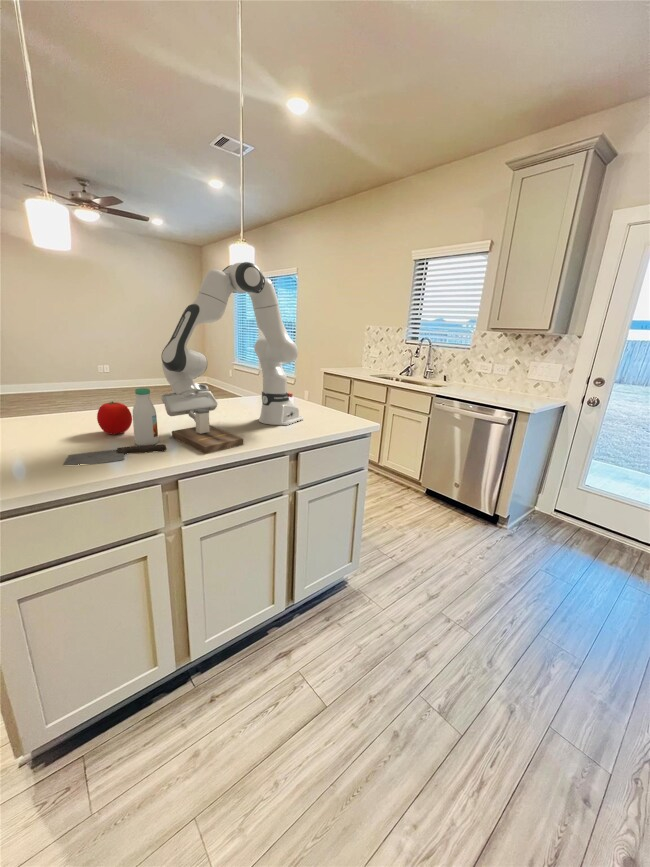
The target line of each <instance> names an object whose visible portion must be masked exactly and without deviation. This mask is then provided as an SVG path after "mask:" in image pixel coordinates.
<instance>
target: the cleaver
mask: <svg viewBox="0 0 650 867" xmlns="http://www.w3.org/2000/svg"><path fill="white" fill-rule="evenodd" d="M166 450H167V445H166V444H161V443H160V444H154V445H142V446H140V445H133V446H131V445H129V446H121V447H117V448H116V449H108V450H100V451H99V450H97V451H90V452H89V451H88V452H80V453H74V454H68V456H67V458H65V461H63V464H62V466H63V465H78V464H79V465H80V464H90V465H97V464H105V463H111V462H116V461H123V460H125V454H126V455H128V454H144V453H145V452H147V453H153V451H158V452H165V451H166ZM127 453H128V454H127ZM145 454H146V453H145ZM96 463H97V464H96ZM80 466H81V465H80Z"/></svg>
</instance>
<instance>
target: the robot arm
mask: <svg viewBox="0 0 650 867" xmlns="http://www.w3.org/2000/svg"><path fill="white" fill-rule="evenodd" d="M233 293H234V294H246V293H247V294H248V295H249V297H250V300H251V302H252V308H253V312H254V316H255V322H256V325H257V327H258V329H259V330H260V331H261V333H262V335H263V336H264V337H260V338H258V339H257V340H256V342H255V344H254V354H256V356H257V358H258V360H259V364H260V368H261V372H262V391H261V402H262V404H261V409H260V410H261V411H260V414H259V418H258V422H260V423H262V424H266V425H272V426H278V425H279V426H289V424H290V425H292V423H293V424H295V422H296V423H298V422H297V421H299V422H301V421H304V420H303V419H304V417H303V416H302V415H300V411H299V408H298V406H297V405H296V404H294V403H293V402H292V401H291V400H290V398H293V396H294V394H293V392H287V386H288V384H287V383H288V376H287V374H286V372H285V370H284V368H283V365H285V364H291V363H293V362H294V361H296V359H297V358H298V355H299V349H298V345H297V344H296V342H295V341H293V339H292V338H291V336H290V335H289V333H288V330H287V328H286V326H285V325H284V322H283V318H282V313H281V312H282V311H281V308H280V303H279V300H278V295H277V292H276V289H275V287H274V284H273V282H272V281H271V279H269V278H268V277H265V276H264V275H263V273H262V271H261V269H260V268H259V266H258V265H256V264H254V263H252V262H249V261H244V262H236V263H234V264H231V265H227V266H226V267H225V268H224V269H223V270H220V269H217V268H216V269H215V268H213V269H210V270H209V271H207V273H206V274H205V277H204V278H203V280H202V282H201V285H200V288H199V289H198V293H197V296H196V298H195V300H194V301H193V302H192V303H191V304H189V305H188V306H186V307H185V309H184V311H183V312H182V314H181V316H180V318H179V321H178V323H177V324H176V327H175V329H174V331H173V333H172V335H171V337H170V338H169V339H170V340H169V341H168V342H167V344H166V345H165V346H164V348H163V349H162V352H161V362H162V363H161V364H162V365H161V366H162V372H163V374H164V377H165V379H166V381H167V383H168V384H169V385H170V389H171V393H164V394H162V395H161V401H162V403H163V405H164V408H165V411H166V414H167V416H169V417H176V416H182V415H183V416H185V415H188V416H189V417H190V418H192V419H193V420H194V423H196V419H195V410H200V409H207V410H209V412H210V411H215V410H216V409H217V407H218V401H217V399H216V397H215V395H213V393H212V392H211V391H209V390H210V389H209V386H208V385H206V384H201V383H197V382H195V381H194V380H195V379H197V378H199V377H200V376H202V375H203V374H204V373H205V372H206V371H207V369H208V359H207V357H206V355H205V354H204V353H201V352H199V351H196V350H193V349H190V348H187V345H188V344H189V341H190V339H191V336H192V335H193V333H194V331H195V329H196V328H197V326H199V325H200V324H207V323H211V324H212V323H214V322H218V321H220V320H221V319H222V318H223V315H224V314H225V311H226V308H227V305H228V302H229V298H230V297H231V294H233ZM300 420H301V421H300Z"/></svg>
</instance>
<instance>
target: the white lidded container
mask: <svg viewBox="0 0 650 867" xmlns="http://www.w3.org/2000/svg"><path fill="white" fill-rule="evenodd" d="M194 414H195V419H196V422H195V427H196V432H198V433H200V434H201V433H206V432H210V430H209V425H210V411H209V410H207V409H200V410H195V413H194Z"/></svg>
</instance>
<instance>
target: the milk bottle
mask: <svg viewBox="0 0 650 867" xmlns="http://www.w3.org/2000/svg"><path fill="white" fill-rule="evenodd" d="M134 392H135V396H136V399H135V403H134V405H133V408H132V426H133V434H134V444H135V445H136V446H142V445H157V444H158V442H159V431H158V419H157V411H156V408H155V406H154V404H153V402H152V400H151V398H150V396H151V390H150V389H149V388H146V387H145V388H144V387H141V388H140V387H139V388H135V390H134Z"/></svg>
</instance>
